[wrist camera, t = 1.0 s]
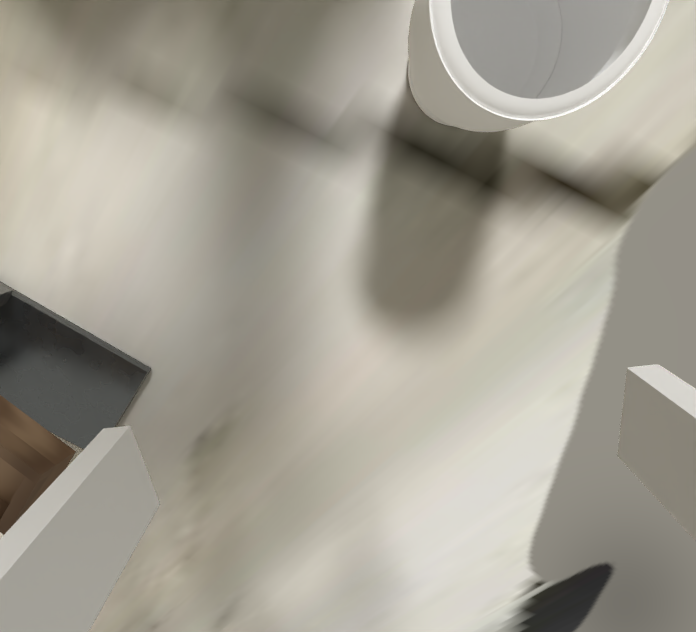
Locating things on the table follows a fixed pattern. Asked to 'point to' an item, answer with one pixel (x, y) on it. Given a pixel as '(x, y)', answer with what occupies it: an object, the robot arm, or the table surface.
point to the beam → (26, 462)
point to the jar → (522, 56)
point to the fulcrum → (62, 371)
